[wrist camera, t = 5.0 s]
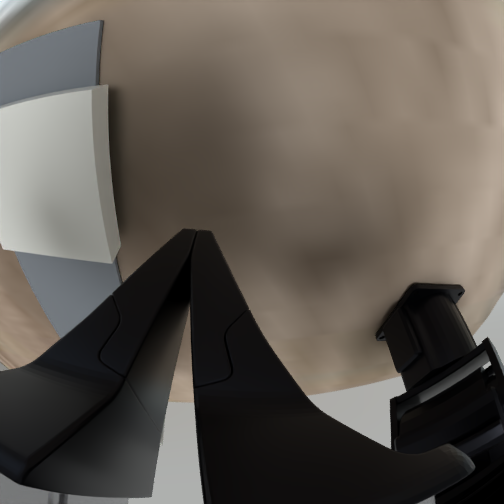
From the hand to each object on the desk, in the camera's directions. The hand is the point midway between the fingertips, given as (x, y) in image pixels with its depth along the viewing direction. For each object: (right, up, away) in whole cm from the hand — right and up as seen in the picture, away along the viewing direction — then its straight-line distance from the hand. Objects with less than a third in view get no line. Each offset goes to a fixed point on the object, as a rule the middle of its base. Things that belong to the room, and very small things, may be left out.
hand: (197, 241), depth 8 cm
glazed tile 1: (-4, +3, +2) cm, 6 cm away
